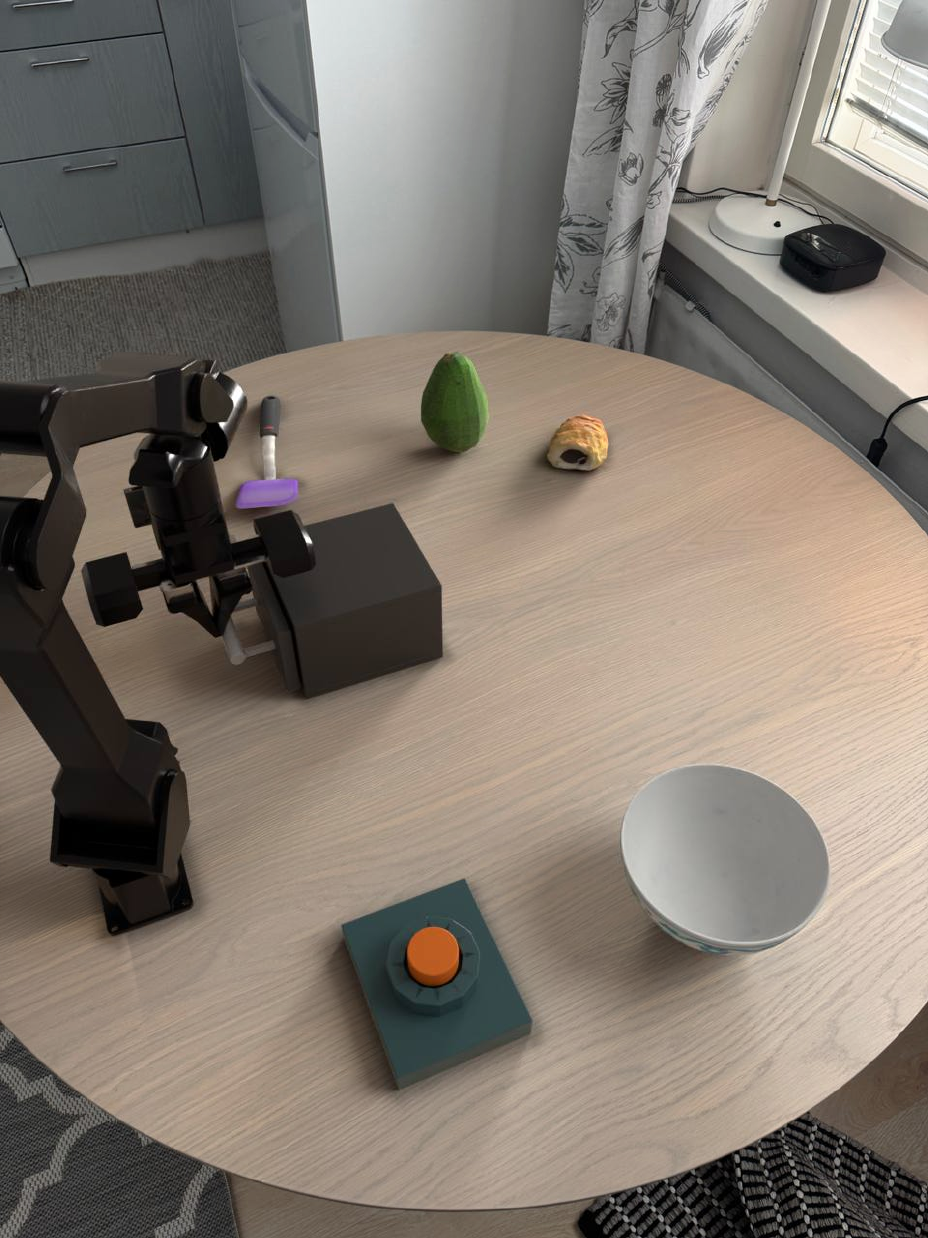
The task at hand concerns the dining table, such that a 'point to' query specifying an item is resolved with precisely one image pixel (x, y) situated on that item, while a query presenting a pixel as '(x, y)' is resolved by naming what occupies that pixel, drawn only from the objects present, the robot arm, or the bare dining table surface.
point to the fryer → (361, 602)
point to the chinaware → (723, 859)
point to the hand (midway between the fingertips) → (217, 633)
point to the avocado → (454, 404)
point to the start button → (433, 956)
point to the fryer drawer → (265, 629)
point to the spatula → (268, 466)
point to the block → (435, 1015)
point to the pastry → (579, 444)
